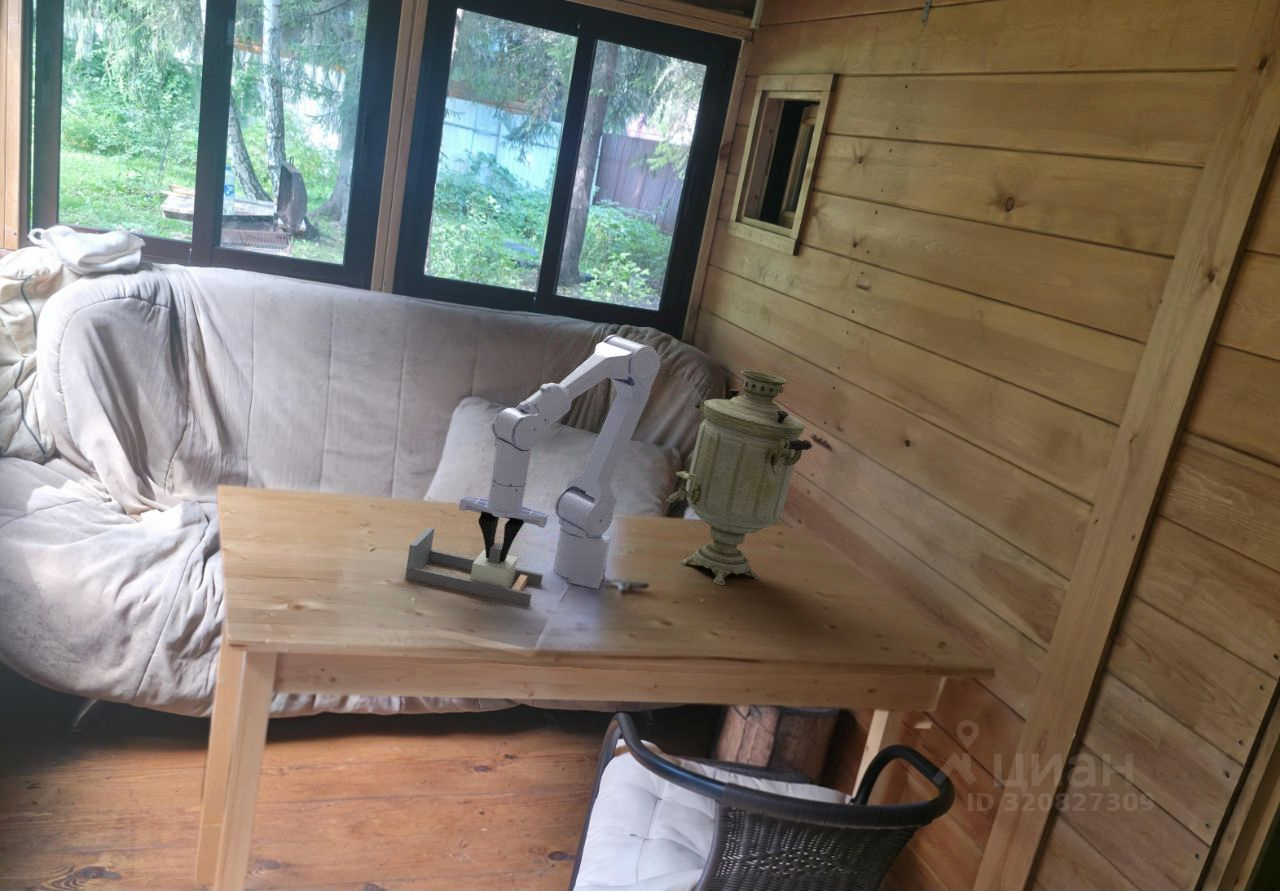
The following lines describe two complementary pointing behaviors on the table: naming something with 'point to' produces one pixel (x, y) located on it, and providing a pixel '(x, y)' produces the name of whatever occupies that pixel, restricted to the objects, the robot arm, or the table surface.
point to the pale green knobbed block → (494, 568)
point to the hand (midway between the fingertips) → (496, 558)
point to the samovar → (740, 470)
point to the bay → (423, 553)
